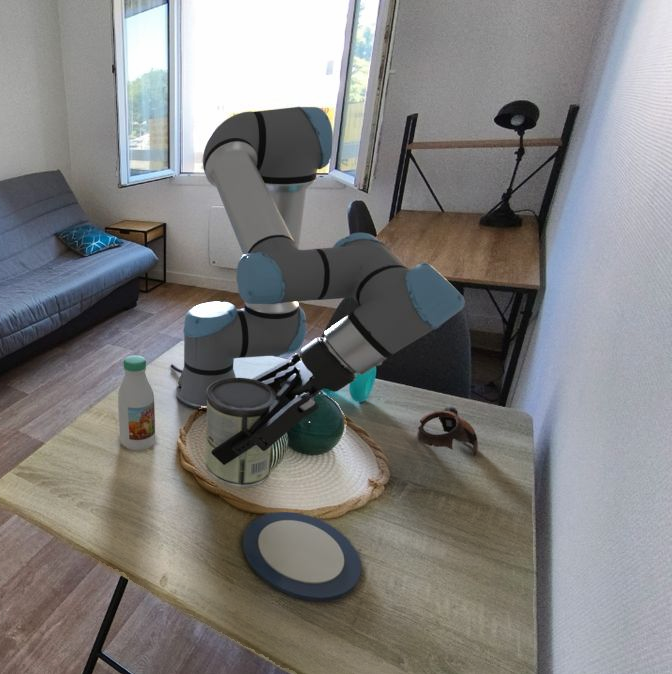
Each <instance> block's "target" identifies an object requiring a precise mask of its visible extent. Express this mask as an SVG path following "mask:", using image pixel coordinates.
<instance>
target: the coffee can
mask: <svg viewBox="0 0 672 674" xmlns="http://www.w3.org/2000/svg"><path fill="white" fill-rule="evenodd" d="M206 394H207V411H206V439H205V440H206V443H205V445H206V446H205V447H206V448H205V452H206V453H205V454H206V455H205V470H206V471H207V473H208V474H209V475H210V477H211V478H212V479H214V480H215V481H217V482H218V483H221V484H223V485H225V486H228V487H232V488H237V489H248V488H249V489H251V488H255V487H258V486H261V485H263V484H265V483H266V482H267V481H268V480H269V479H270V477H271V472H272V469H271V467H272V456H273V455H272V453H273V445H272V446H270V447H269V448H268V449H267V450H265V451H262V450H261V449H260V448H259V447H258V446H257V445H255V446H253V447H252V448H250V449H249V450H247V451H246V452H244V453H243V454H241V455H239V456H238V457H236V458H235V459H233V460H232V461H230V462H229V463H227V464H225V465H223V464H222V463H221V462H220V461H219V460H218V459H217V458H216V457H215V456H214V455H212V454H211V453H212V450H213V449H215V448H216V447H218V446H219V445H221V444H222V443H224V442H225V441H227V440H228V439H230V438H231V437H233V436H234V435H236V434H237V433H239V432H240V431H242V430H243V428H244V427H245V428H247V429H248V430H249V429H250V428H251V427H252V426H253V424H254V423H255V422H256V421H257V420H258V419H259V418H260V417H261V416H262V415H263V414H264V412H265V411H266V410H267V409H268V408H269V407H270V406H271V405H272V404H273V403H274V402H275V400H276V395H277V393H276V392H275V390H274V389H273V388H271V387H270V386H269V385H267V384H265V383H263V382H260V381H257V380H253V378H247V377H236V378H226V379H222V380H218V381H216V382H214V383H212V384H211V385H210V386H209V387H208V388H207V392H206Z"/></svg>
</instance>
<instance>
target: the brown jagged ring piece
mask: <svg viewBox="0 0 672 674" xmlns="http://www.w3.org/2000/svg"><path fill="white" fill-rule="evenodd" d="M437 418H438V420H439V422H440V423H441V427H442V429H443V430H442V431H443V432H444V433H440V434H435V433H430V432H428V431H426V430H425V428H424V427H425V425H426V424H427V423H428V422H430V421H432V420H435V419H437ZM419 423H420V425H419V426H418V427H417V428H418V430H417V433H416V436H417V440H418V441H419V442H421V443H423V444H424V445H427V446H429V447H437V448H439V447H441V448H442V447H444V448H447V449H449V450H453V449H454V448H453V442H454V440H455V441H457V442H463V443H468V444H470V445H472V450H473V456H477V455H478V453H479V450H478V449H479V446H478V445H479V442H478V436H477V434H476V432H475V429H474V428H473V426H472V425H471V424H470V422H469V421H467V420H465V419H464V418H463V417H460V416H459V412H458V410H457V409H456V408H455V407H453V406H447V407H445V408H443V409H442V410H436V411H433V412H429V413H427V414H425V415H424V416H423V417H422V418H421V419H420V420H419Z"/></svg>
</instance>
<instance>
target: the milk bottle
mask: <svg viewBox="0 0 672 674" xmlns="http://www.w3.org/2000/svg"><path fill="white" fill-rule="evenodd" d="M123 371H124V376H123V379H122V382H121V384H120V386H119V389H118V393H117V403H118V404H117V406H118V407H117V408H118V429H119V441H120V443H121V445H122V446H123V447H124V448H127V449H129V450H131V451H143V450H147V449H149V448H151V447H152V446H153V445H154V443H155V441H156V412H155V393H154V389H153V387H152V385H151V383H150V381H149V379H148V376H147V374H146V371H147V360H146V358H145V357H144V356H141V355H129V356H127V357H125V358H124V359H123Z"/></svg>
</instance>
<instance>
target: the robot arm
mask: <svg viewBox="0 0 672 674" xmlns="http://www.w3.org/2000/svg"><path fill="white" fill-rule="evenodd" d="M333 151H334V132H333V127H332V123H331V121H330V118H329V116H328V114H327V113H326V112H325V111H324V110H323V109H322V108H320V107H317V106H293V107H283V108H274V109H267V110H266V109H265V110H258V111H250V110H249V111H243V112H240V113H237V114H234V115H232V116H230V117H227V118H226V119H225V120H224V121H222V122H221V123H220V124H219V125H218V126H217V127H216V128H214V130H213V132H211V134H210V136H209V137H208V139H207V141H206V143H205V146H204V149H203V153H202V168H203V169H202V170H203V171H204V175H205V177H206V179H207V181H208V182H209V184H210V185H212V187H215V188H216V190H217V192H218V194H219V197H220V200H221V202H222V205H223V207H224V209H225V212H226V215H227V217H228V220H229V223H230V225H231V227H232V229H233V232H234V235H235V237H236V240H237V242H238V244H239V248H240V250H241V253H242V256H241V257H240V258H239V260H238V263H237V267H236V276H235V277H236V283H237V291H238V295H239V297H240V298H241V299H242V301H243V302H244V305H243V308H236V305H234V304H232V303H231V302H228V301H223V302H222V301H209V302H204V303H200V304H197V305H196V306H193V307H192V308H191V309H189V310H188V311H187V313H186V314H185V317H184V326H183V337H184V338H183V351H184V352H183V368H182V369H181V368H179V367H177V366H176V365H174V364H173V363H171V364H170V368H171V369H173V370H174V371H175V372H177V373H180V376H179V378H178V382H177V384H176V392H175V393H176V398H177V399H178V400H179V402H180V403H182V405H185V406H186V407H189V408H190V409H194V410H198V409H199V408H201V406H207V394H206V392H207V388H208V387H209V386H210V385H211V384H212V383H214V382H216V381H218V380H222V379H226V378H237V376H236V373H235V370H234V360H235V359H244V358H245V359H246V358H258V357H280V356H285V355H290V354H292V355H291V356H289V357H288V358H287V359H285V360H284V361H282V362H280V363H278V364H276V365H275V366H273V367H271V368H269V369H266V371H264V372H262V373H259V374H257V375H256V376H255V377H253V378H252V379H253V380H257V381H260V382H263V383H265V384H267V385H269V386H270V387H271V388H273V389H274V390H275V392H276V393H277V395H276V400H275V402H274V403H273V404H272V405H271V406H270V407H269V408H268V409H267V410H266V411H265V412H264V414H263V415H262V416H261V417H260V418H259V419H258V420H257V421H256V422H255V423H254V424H253V426H252V427H251V428H250V429H249V430H248V429H247V428H245V427H244V428H243V430H242V431H240V432H239V433H237V434H236V435H234V436H233V437H231V438H230V439H228V440H227V441H225V442H224V443H222V444H221V445H219V446H218V447H216V448H215V449H213V450H212V453H211V454H212V455H214V456H215V457H216V458H217V459H218V460H219V461H220V462H221V463H222V464H223V465H225V464H227V463H229V462H230V461H232V460H233V459H235V458H236V457H238V456H239V455H241V454H243V453H244V452H246V451H247V450H249V449H250V448H252V447H253V446H255V445H257V446H258V447H259V448H260V449H261V450H262V451H265V450H267V449H268V448H269V447H270V446H272V447H273V445H274V444H275V443H276V442H277V441H278V440H280V439H281V438H282V437H283V436H284V435H286V434H287V433H288V432H289V431H290V430H291V429H293V428H294V427H296V425H297V424H299V423H300V422H301V421H302V420H303V419H304V418H305V417H307V416H309V415H310V414H312V413H313V412H314V413H315V412H316V411H317V410H318V409H319V408H320V405H319V403H318V402H317V401H315V397H316V396H317V395H318V394H319V393H320V392H322V389H328V390H330V391H332V392H331V393H335V392H339V391H340V390H342V389H343V388H345V387H347V386H348V385H350V383H351V382H352V381H354V380H355V379H356V373H357V374H364V373H366V372H367V371H369V370H370V369H372V368H373V367H375V366H376V367H380V366H381V365H382V364H383V362H384V361H386V360H387V359H389V358H391V357H392V356H394V354H396V353H397V352H399V351H401V350H402V349H404V348H406V347H407V346H409V345H410V344H412V343H414V342H415V341H417V340H419V339H420V338H423V337H424V336H426V335H428V334H430V333H431V332H432V331H435V330H437V329H438V328H440V327H441V326H442V325H443V324H444V323H445V322H447V321H448V320H449V319H451V318H453V317H454V316H455V315H456V314H458V313H459V312H460V311H462V310H463V309H464V307H465V305H466V300H465V298H464V296H463V295H462V294H461V293H460V291H459V290H458V289H457V288H456V287H455V286H453V284H452V283H451V282H449V281H448V280H447V278H446V277H444V276H443V274H442V273H440V272H439V271H438V270H437V269H436V268H435V267H434V266H432V264H430V263H428V262H422V263H419V264H417V265H416V266H414V267H413V268H409V267H407V265H405V263H404V262H403V261H402V260H401V259H400V258H399V257H398V256H396V255H395V253H394V252H393V251H392V249H391V248H390V247H389V246H388V245H387V244H385V243H384V242H382V241H381V240H379V239H378V238H377V237H376V236H375V235H373V234H371V233H367V232H354V233H351V234H349V235H347V236H345V237H342V238H340V239H339V240H337V242H336V243H334V245H333V246H331V247H322V248H308V249H307V248H306V249H300V240H301V232H302V224H303V217H304V209H305V203H306V202H305V201H306V195H307V189H308V188H309V187H310V186H311V185H312V184H314V183H315V182H316V180H317V173H318V170H322V169H324V168H325V167H327V166H328V165H329V163H330V160H331V158H332V156H333ZM337 299H338V300H339V299H353V300H354V301H355V302H356V303H357V304H358V305H359V306H358V307H357V308H356V309H355V310H353V311H352V312H350V313H349V314H347V315H345V316H344V317H342V318H341V319H340V320H339V321H337V322H336V323H335V324H333V325H331V326H330V327H329V328H327V329H326V330H325V331H324V332H323V336H324V337H323V336H317V337H316V338H314V339H313V340H311V341H310V342H309V343H307V344H306V345H304V346H303V347H302V345H303V342H304V341H305V338H306V333H307V324H306V321H307V316H306V314H305V310H304V309H303V308H302V307H301V305H299V302H307V301H324V300H337ZM301 347H302V348H301ZM299 349H300V350H299ZM298 350H299V353H298V352H297V351H298ZM295 352H296V353H295ZM199 411H206V412H207V408H202V409H200V410H199Z"/></svg>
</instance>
